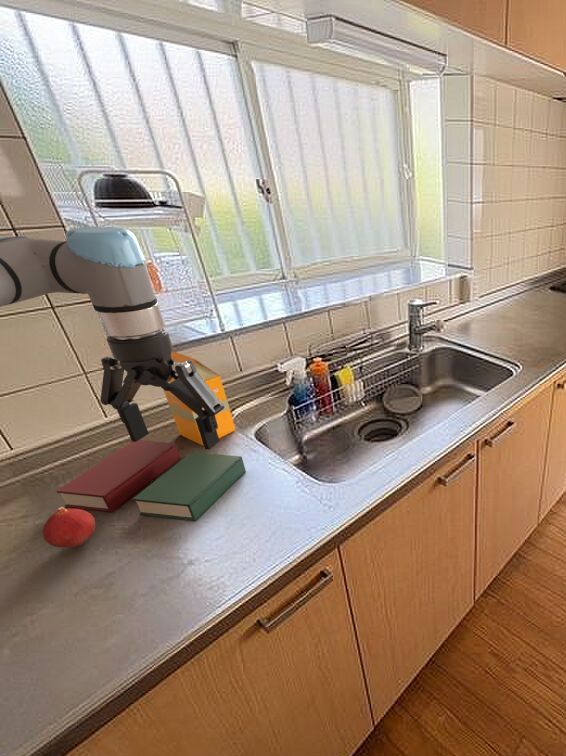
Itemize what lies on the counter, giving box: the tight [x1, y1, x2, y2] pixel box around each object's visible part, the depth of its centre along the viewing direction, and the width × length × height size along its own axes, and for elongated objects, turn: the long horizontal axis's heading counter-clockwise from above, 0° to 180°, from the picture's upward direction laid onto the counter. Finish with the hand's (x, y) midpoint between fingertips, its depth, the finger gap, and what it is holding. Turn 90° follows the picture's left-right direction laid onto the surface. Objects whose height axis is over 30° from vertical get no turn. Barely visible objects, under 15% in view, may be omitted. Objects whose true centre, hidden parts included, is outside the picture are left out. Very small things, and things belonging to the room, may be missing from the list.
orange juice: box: [162, 350, 236, 447], centre depth 94 cm, size 8×9×20 cm
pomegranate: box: [42, 506, 96, 548], centre depth 68 cm, size 6×6×8 cm
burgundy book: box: [56, 439, 182, 513], centre depth 82 cm, size 9×16×4 cm, turn 175°
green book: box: [132, 451, 247, 522], centre depth 81 cm, size 10×14×4 cm
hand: (176, 441), depth 76 cm, fingers open, 13 cm apart
